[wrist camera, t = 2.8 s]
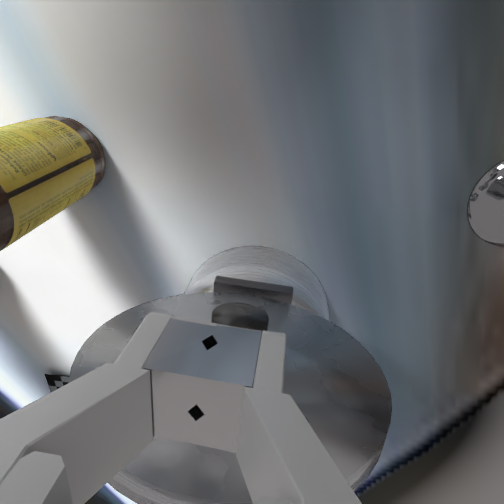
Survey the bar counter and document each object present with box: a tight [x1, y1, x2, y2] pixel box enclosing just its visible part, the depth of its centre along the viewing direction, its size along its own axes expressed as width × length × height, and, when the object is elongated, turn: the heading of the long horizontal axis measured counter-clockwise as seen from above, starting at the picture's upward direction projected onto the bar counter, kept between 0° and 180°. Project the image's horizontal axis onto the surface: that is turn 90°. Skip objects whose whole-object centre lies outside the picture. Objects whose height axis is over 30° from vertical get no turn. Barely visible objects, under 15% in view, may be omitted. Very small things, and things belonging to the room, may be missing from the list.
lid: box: [69, 292, 392, 504], centre depth 15 cm, size 13×13×3 cm
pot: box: [184, 246, 329, 321], centre depth 29 cm, size 14×17×8 cm
